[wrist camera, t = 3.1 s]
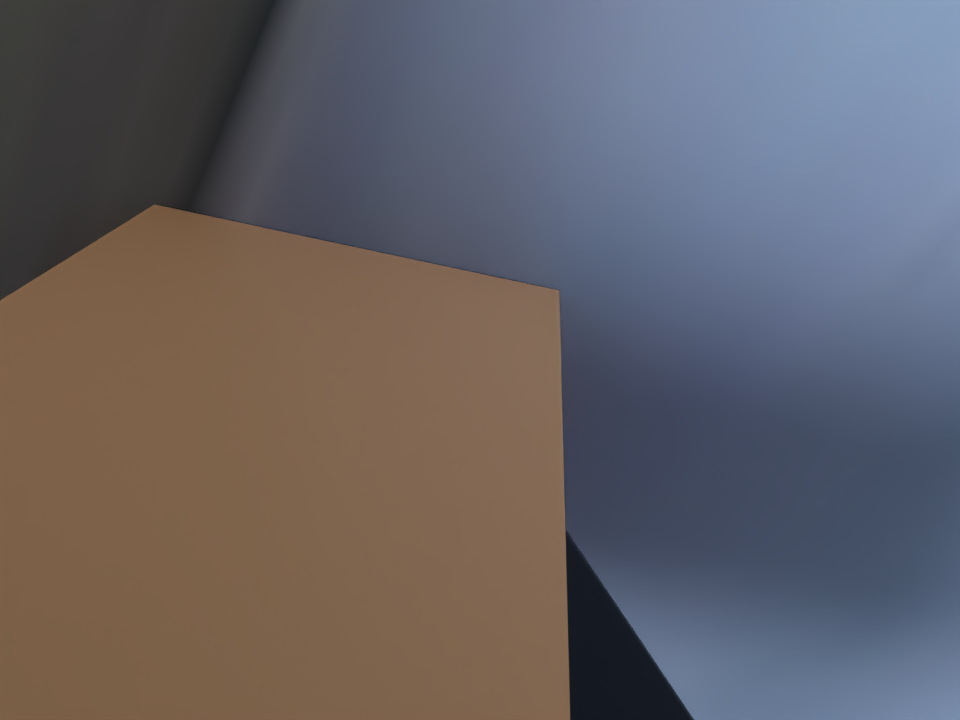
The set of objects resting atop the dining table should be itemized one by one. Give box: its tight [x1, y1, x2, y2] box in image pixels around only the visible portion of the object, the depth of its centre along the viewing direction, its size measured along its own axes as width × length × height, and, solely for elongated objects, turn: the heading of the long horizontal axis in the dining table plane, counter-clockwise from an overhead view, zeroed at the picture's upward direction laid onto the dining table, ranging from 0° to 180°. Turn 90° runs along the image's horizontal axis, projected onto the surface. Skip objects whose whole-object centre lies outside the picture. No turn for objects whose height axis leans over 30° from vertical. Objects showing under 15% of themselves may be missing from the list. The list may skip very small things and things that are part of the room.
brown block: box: [0, 204, 570, 720], centre depth 7 cm, size 4×4×7 cm
